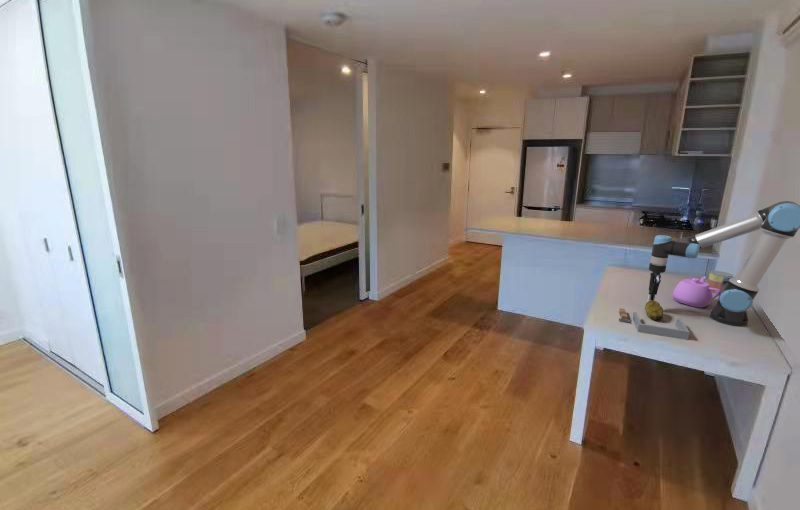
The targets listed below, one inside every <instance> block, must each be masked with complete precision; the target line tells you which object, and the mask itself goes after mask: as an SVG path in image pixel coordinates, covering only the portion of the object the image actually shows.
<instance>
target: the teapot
mask: <svg viewBox="0 0 800 510" xmlns="http://www.w3.org/2000/svg"><path fill="white" fill-rule="evenodd" d="M706 279H707V277H706V276H705V275H704V276H703V275H702V277H701V278H700V279H699V278H696V277H693V278H684V279H682V280H680V281H679V282H678V283H677V285H676V286H675V288H674V290H673V291H672V298H673V300H674V301H675V302H678V303H679V304H684V305H687V306H692V307H694V308H704V307H707V306H709V305H710V304H711V303H712V301H713V300H714V299H715V298H717V297H719V294H720V289H717V288H711V286H710V284H708V283H707V282H706ZM712 290H714V291H715V293H712Z"/></svg>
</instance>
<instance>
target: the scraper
mask: <svg viewBox="0 0 800 510" xmlns="http://www.w3.org/2000/svg"><path fill="white" fill-rule="evenodd" d="M618 313H619V316H620V317H619V318H618V321H619V322H620V323H626V324H631V320H630V319H628V314H627V311H626V309H625V308H622V307H621V308H619V311H618Z"/></svg>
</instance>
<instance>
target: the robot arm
mask: <svg viewBox="0 0 800 510" xmlns="http://www.w3.org/2000/svg"><path fill="white" fill-rule="evenodd" d="M799 229H800V204H799V203H797V202H793V201H790V200H789V201H787V200H785V201H779V202H776V203H773V204H772V205H769V206H766V207H765V208H762V209H760V210H757V211H756V212H755V213H754V214H753V215H749V216H746V217H743V218H741V219H737V220H734V221H732V222H729V223H726V224H723V225H720V226H717V227H714V228H712V229H709V230H708V229H707V230H706V231H703V232H700V233H697V234H695V235H692V236H688V237H683V238H681V239H680V240H679V241H677V240H676V241H675V240H673V237H672V236H669V235H663V234H658V235H657V234H656V236H655V237H654V241H653V245H652V250H651V256H650V257H649V259H650V263H649V264H648V265H649V266H648V270H649V271H650V274H649V275H650V276H649V277H650V278H649V284H648V285H649V286H648V297H647V301H646V303H647V302H648V301H655V299H656V296H657V294H658V290H659V286H660V283H661V281H662V275H661V274H663V273H665V272H666V270H667V265H668V261H669V256H675V257H682V258H686V259H696V258H698V255H699V251H700V249H704V248H706V247H709V246H712V245H715V244H718V243H722V242H725V241H728V240H731V239H734V238H737V237H740V236H743V235H747V234H750V233H753V232H756V231H759V230H761V232H762V233H760V235H759V237H758V238H757V241H756V242H755V243H754V245H753V248H752V249H751V250H750V252H749V253H748V255H747V256H746V259H745V260H744V262H743V264H742V265H741V267H740V269H739V270H738V272H737V273H736V276H735V277H734V276H733V277H724V279H723V281H722V286H721V290H720V294H719V296H718V299H717V303H716V304H715V306H714V307H713V308H712V310H710V314H709V317H710V318H711V319H712V320H714V321H715V322H718V323H721V324H725V325H729V326H735V327H745V326H748V322H749V316H748V310H749V309H750V308H751V307H752V306H753V304H754V303H753V301H754V299H755V298H756V296H757V294H758V293H759V291H760V288H759V287H758V285H759V283H760V282H761V280H762V279H763V277H764V275H765V274H766V272H767V271H768V269H769V268H770V266H771V265H772V263H773V262H774V260H775V259H776V257H777V255H778V254H779V253H780V251H781V249H782V247H783V246H784V244H785V243H786V241H787V240H789V239H792V238H794V237H795V235H796V234H797V232H798V231H799Z"/></svg>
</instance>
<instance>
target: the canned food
mask: <svg viewBox="0 0 800 510" xmlns="http://www.w3.org/2000/svg"><path fill="white" fill-rule="evenodd" d="M724 277H734V274H732V273H729V272H725V271H719V270H709V275H708V277H707V278H708V279H707V282H706V283H708V284H710V286H711V288H717V289H720V290H721V286H722V281H723V279H724ZM712 294H715V291H714V290H712Z"/></svg>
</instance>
